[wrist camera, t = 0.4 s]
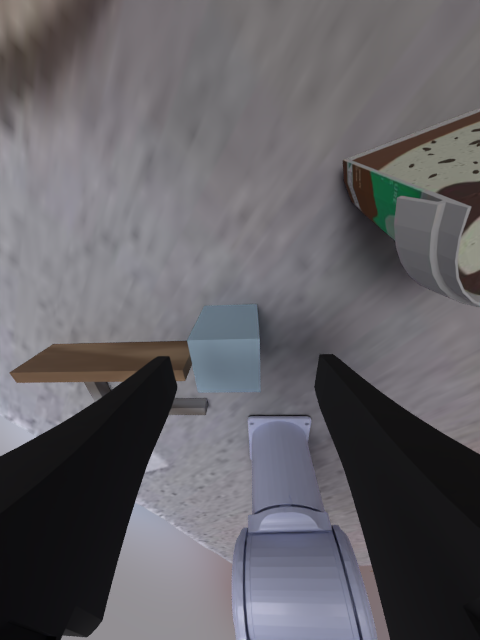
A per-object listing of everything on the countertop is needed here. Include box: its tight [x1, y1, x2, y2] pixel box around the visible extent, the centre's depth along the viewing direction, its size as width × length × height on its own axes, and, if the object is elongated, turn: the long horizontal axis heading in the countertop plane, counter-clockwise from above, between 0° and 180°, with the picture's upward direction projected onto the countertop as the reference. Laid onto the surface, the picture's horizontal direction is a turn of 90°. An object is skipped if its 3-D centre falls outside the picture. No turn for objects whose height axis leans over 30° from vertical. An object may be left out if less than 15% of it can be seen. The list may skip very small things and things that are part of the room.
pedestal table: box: [10, 341, 208, 415], centre depth 22 cm, size 10×16×4 cm, turn 93°
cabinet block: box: [187, 304, 261, 392], centre depth 18 cm, size 6×5×6 cm
